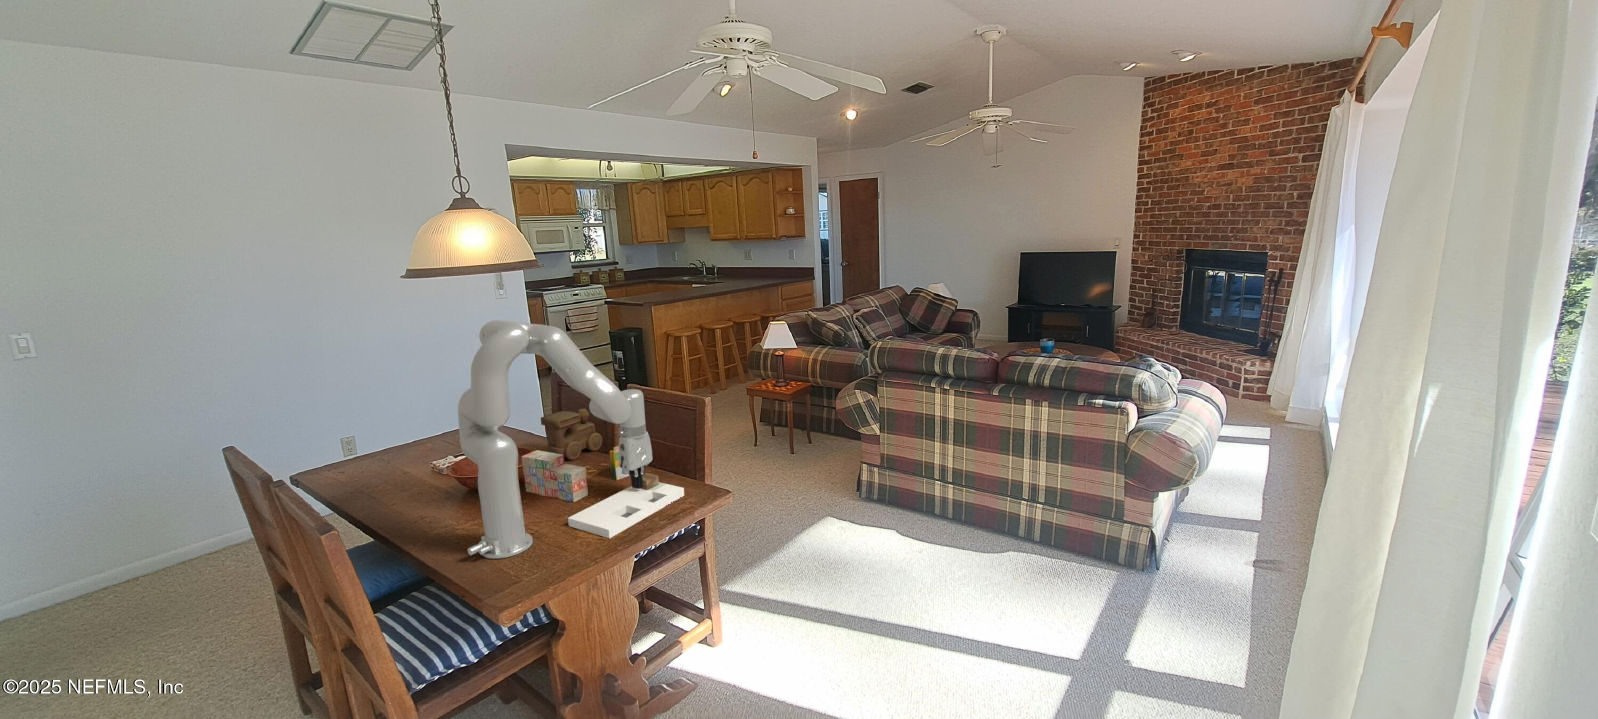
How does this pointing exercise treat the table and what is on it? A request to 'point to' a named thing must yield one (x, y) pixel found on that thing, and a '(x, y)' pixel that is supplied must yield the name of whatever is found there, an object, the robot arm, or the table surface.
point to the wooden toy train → (570, 433)
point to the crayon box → (616, 465)
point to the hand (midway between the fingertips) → (637, 487)
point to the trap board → (624, 509)
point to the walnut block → (649, 481)
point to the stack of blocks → (553, 476)
